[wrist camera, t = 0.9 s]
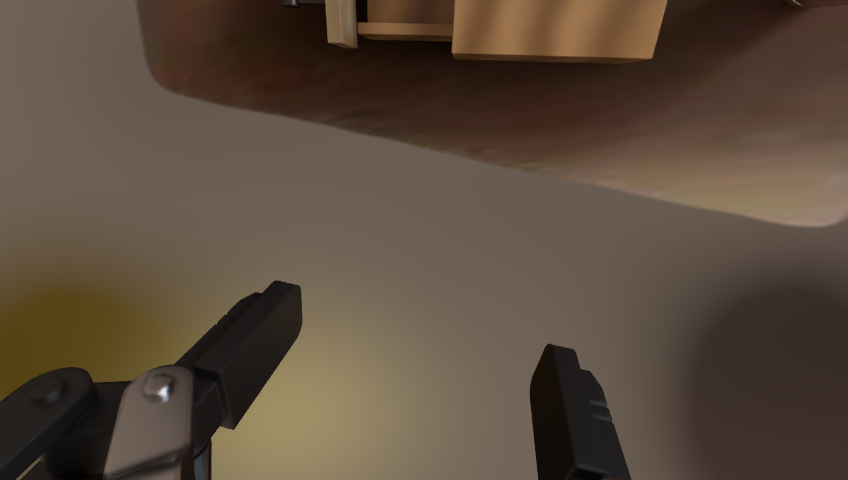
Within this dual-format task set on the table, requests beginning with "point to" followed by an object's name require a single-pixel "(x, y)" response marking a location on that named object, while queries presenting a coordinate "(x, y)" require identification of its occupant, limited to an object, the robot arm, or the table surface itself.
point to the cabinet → (557, 30)
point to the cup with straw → (814, 3)
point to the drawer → (386, 20)
